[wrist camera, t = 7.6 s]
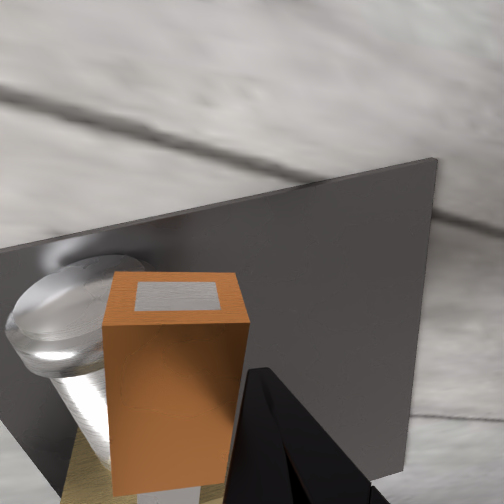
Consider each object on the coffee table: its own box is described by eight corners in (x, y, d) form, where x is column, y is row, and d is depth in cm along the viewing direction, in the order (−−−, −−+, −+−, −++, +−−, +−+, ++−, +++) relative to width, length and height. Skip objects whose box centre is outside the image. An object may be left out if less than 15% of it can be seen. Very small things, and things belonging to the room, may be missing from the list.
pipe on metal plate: (400, 465, 28) (465, 582, 22) (109, 553, 26) (91, 712, 20) (431, 157, 16) (596, 223, 10) (-103, 271, 14) (-320, 446, 8)
